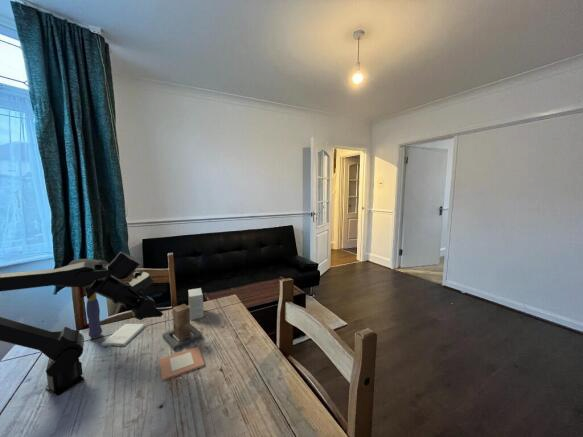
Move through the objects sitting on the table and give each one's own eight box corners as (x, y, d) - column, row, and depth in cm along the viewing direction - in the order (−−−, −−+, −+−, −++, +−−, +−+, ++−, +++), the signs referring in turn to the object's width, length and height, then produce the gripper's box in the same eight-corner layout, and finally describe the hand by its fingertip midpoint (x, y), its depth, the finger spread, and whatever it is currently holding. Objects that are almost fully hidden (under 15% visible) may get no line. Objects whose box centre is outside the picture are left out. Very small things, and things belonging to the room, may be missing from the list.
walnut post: (178, 344, 90) (176, 312, 88) (172, 337, 93) (170, 307, 92) (192, 337, 94) (191, 307, 92) (186, 332, 97) (185, 303, 95)
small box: (188, 311, 113) (187, 289, 111) (202, 309, 115) (201, 287, 114) (189, 320, 105) (188, 296, 104) (203, 317, 108) (202, 294, 106)
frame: (173, 350, 86) (173, 346, 86) (162, 337, 93) (162, 334, 93) (202, 337, 94) (202, 333, 93) (190, 326, 101) (189, 323, 100)
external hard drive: (145, 327, 101) (124, 347, 88) (125, 327, 101) (101, 346, 88) (145, 323, 100) (123, 343, 88) (125, 323, 101) (101, 342, 88)
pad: (162, 380, 73) (162, 378, 73) (159, 360, 81) (159, 358, 81) (204, 365, 79) (204, 363, 79) (198, 348, 87) (198, 346, 87)
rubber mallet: (118, 332, 96) (111, 257, 92) (100, 345, 89) (92, 263, 85) (91, 329, 98) (83, 255, 94) (71, 340, 91) (62, 261, 87)
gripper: (144, 274, 73) (184, 297, 83) (126, 261, 86) (162, 282, 96) (115, 309, 69) (160, 329, 78) (101, 290, 81) (141, 309, 91)
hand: (157, 310), depth 86 cm, fingers open, 9 cm apart
